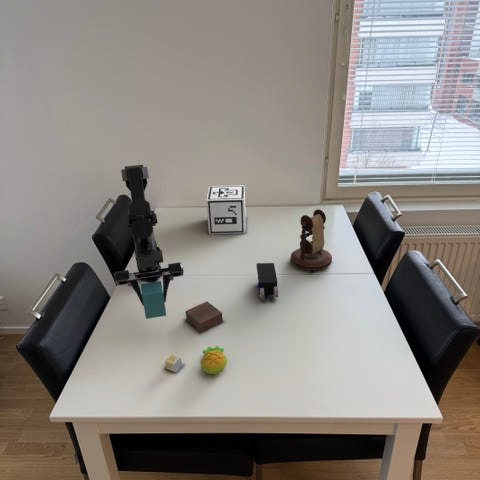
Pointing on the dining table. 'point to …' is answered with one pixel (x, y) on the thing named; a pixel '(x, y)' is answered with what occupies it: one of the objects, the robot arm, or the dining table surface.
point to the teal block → (153, 299)
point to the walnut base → (204, 316)
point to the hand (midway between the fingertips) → (153, 303)
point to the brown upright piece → (312, 244)
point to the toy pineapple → (213, 360)
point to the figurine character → (267, 280)
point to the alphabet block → (173, 363)
